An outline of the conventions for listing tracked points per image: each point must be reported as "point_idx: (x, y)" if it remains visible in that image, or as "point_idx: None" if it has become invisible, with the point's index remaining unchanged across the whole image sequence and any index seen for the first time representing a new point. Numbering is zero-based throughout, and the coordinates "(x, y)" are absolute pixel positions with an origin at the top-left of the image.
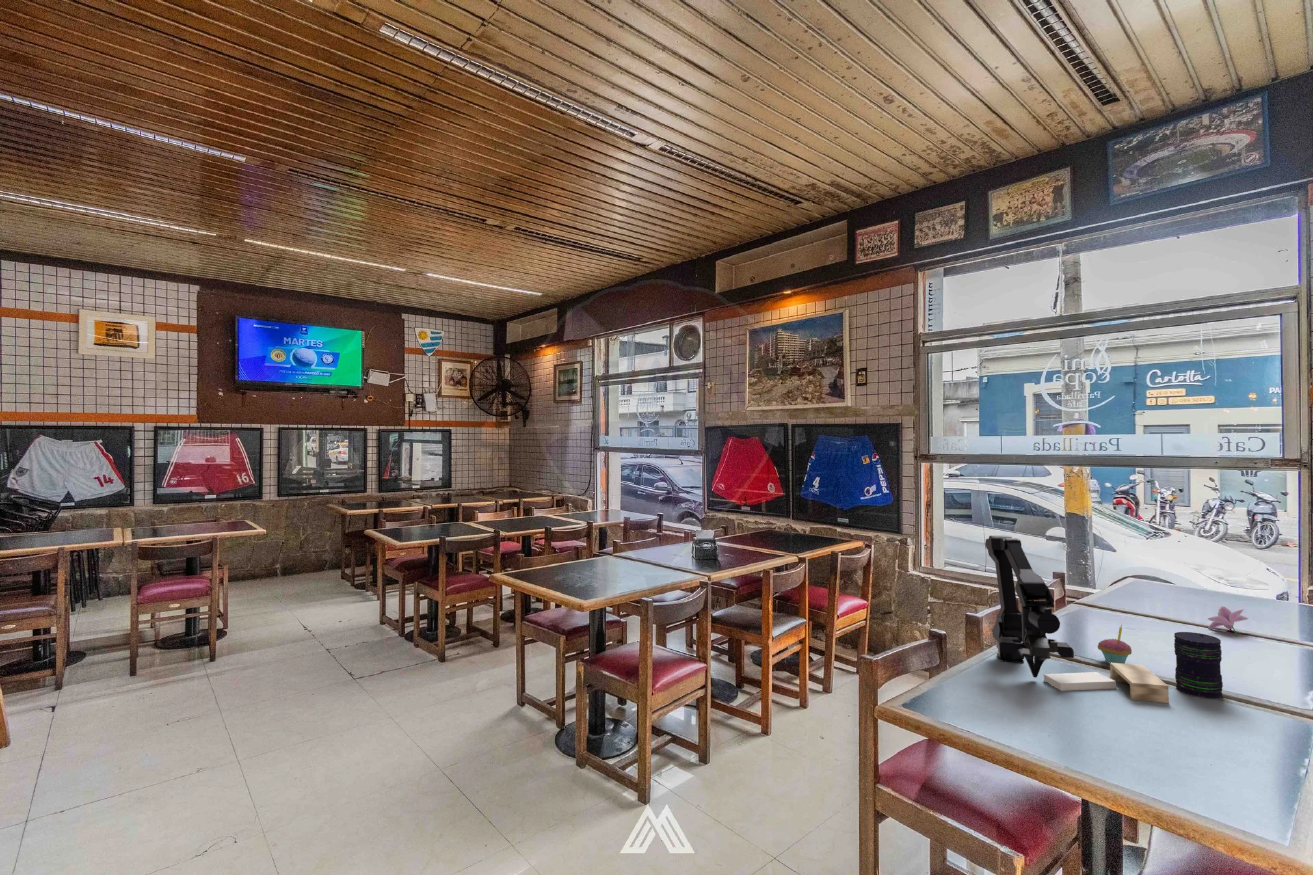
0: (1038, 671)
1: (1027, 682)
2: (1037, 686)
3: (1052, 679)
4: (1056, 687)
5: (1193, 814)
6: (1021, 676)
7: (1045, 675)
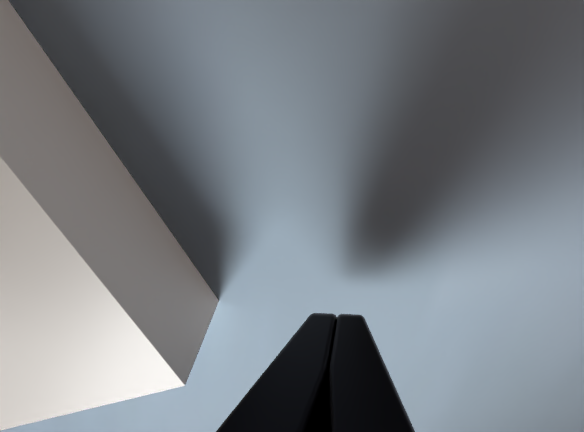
0: (261, 389)
1: (493, 184)
2: (358, 19)
3: (45, 192)
4: (36, 49)
5: None
6: (499, 394)
7: (164, 347)
